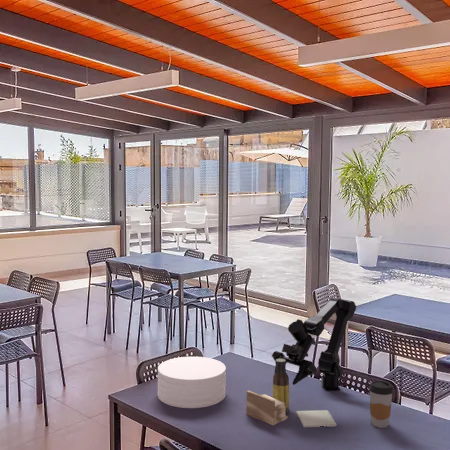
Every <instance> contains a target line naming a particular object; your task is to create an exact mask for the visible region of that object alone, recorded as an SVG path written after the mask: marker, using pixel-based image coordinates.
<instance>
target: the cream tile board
mask: <svg viewBox="0 0 450 450" xmlns="http://www.w3.org/2000/svg"><path fill="white" fill-rule="evenodd" d="M296 415H297V417H298V419H299V420H300V422H301V425H302V426H303V427H302V428H321V427H320V426H324V428H325V427H326V426H327V427H328V428H329V427H337V423H336V422H335V420H334V418H333V416H332V415H331V413H330V412H329V411H328V410H327V409H325V410H322V409H321V410H319V409H318V410H317V409H316V410H296ZM327 427H326V428H327Z"/></svg>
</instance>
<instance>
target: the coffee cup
mask: <svg viewBox="0 0 450 450" xmlns="http://www.w3.org/2000/svg"><path fill="white" fill-rule="evenodd" d="M393 390H394V389H393V387H392V384H391V383H390V382H388V381H384V380H373V381H371V382H370V384H369V387H368V391H369V414H370V423H371V425H372V427H375V428H379V429H385V428H387V427H389V425H390V419H391V410H392V400H393V399H392V398H393V393H394V391H393Z"/></svg>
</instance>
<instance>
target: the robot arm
mask: <svg viewBox="0 0 450 450" xmlns="http://www.w3.org/2000/svg"><path fill="white" fill-rule="evenodd" d="M356 310H357V305H356V303H355V301H353V300H347V299H343V298H338V297H331V298H329V300H328V302H327V303H326V304H325V305H324V306H323V308H321V309H320V311H318V312H317V314H315V315H313V316H309V317H308V318H307V319H305V320H304V322H303V320H302V319H299V318H298V319H296V320H295V321H293V322H291V323H289V325H288V327H287V330H288V333H289V334H290V335H291V337H292V338H293V339H294V340H295V341H296V343H295V344H292V345H290V344H287V343H284V344H283V346H282V350H281V352H280V351H277V350H274V351H273V353H272V354H271V358H273V361H275V362H276V359H285V360H286V364H290V365H294V366H297V367H298V371H297V373H296V374H295V377H294V379H293V380H292V385H293V386H296V384H298V383H299V382H301V381H302V380H303V379H305V378H308V377H309V376H310V377H311V376H314V375H315V374H316V372H317V367H316V365H315V364H314V363H313V361H312V360H311V361H310V360H307V359H306V358H308V357H309V351H310V349H311V347H312V345H313V346H315V345H316V340H315V339H316V338H315V337H319V336H321V334H322V332H323V331H324V330H325V324H326V323H327V322H328V321H329V320H330V319H331V318H332V317H333V315H334V314H335V317H336V318H335V321H334V324H333V328H332V331H331V334H330V338H329V341H328V343H327V344H328V345H327V348H326V349H325V350H324V351H321V352H320V355H319V357H318V362H317V365H318V370H319V372H320V373H322V375H321V379H320V380H321V387H322V388H323V390H325V391H340V386H339V385H340V382H339V381H340V377H342V375H343V373H344V368H342V367H341V365H340V362H341V359H340V356H339V352H340V349H341V344H342V342H343V338H344V334H345V331H346V327H347V325H348V322H349V320H351V319H352V318H354V314H355V313H356ZM312 336H315V337H312ZM284 353H285V354H284ZM286 356H287V357H286ZM275 362H274V363H275ZM274 367H275V368H274V372H273V373H274V374H275V373H276V364H275V366H274ZM274 374H273V375H274Z"/></svg>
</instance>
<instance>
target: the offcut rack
mask: <svg viewBox="0 0 450 450" xmlns="http://www.w3.org/2000/svg"><path fill="white" fill-rule="evenodd" d="M245 404H246V409H245V410H246V411H245V412H246V415H247V416H249V417H252V418H253V419H256V420H259V421H261V422H263V423H266V424H268V425H271V426H275V425H277V424H279V423H281V422H283V421H285V420H287V419H288V415H286V412H285V411H286V406H285V403H284V402H282V401H279V400H277V399H275V398H273V396H269V395H268V394H265V393H263V394H259V393H256V392H253V391H251V390H246V403H245Z"/></svg>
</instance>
